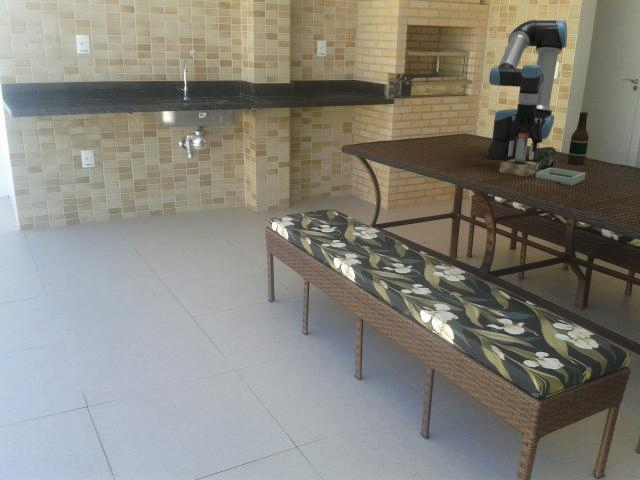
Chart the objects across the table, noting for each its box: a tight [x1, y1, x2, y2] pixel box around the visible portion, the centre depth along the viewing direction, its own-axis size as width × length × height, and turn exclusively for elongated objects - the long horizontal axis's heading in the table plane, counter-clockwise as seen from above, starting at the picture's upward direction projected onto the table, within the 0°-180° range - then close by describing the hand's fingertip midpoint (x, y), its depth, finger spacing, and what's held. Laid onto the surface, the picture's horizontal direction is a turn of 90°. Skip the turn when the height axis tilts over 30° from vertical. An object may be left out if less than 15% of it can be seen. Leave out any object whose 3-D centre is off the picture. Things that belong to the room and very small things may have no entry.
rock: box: [528, 146, 557, 170], centre depth 274 cm, size 12×10×10 cm
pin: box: [514, 133, 529, 165], centre depth 260 cm, size 4×4×16 cm
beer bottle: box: [567, 111, 589, 166], centre depth 285 cm, size 8×8×24 cm
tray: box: [535, 167, 587, 187], centre depth 254 cm, size 15×15×3 cm
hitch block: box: [499, 159, 539, 177], centre depth 262 cm, size 12×12×5 cm
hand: (520, 157), depth 261 cm, fingers open, 9 cm apart
